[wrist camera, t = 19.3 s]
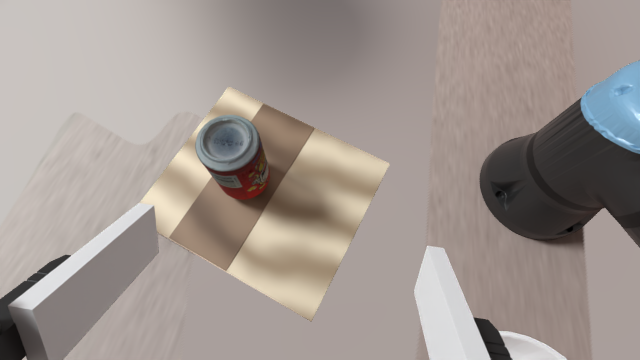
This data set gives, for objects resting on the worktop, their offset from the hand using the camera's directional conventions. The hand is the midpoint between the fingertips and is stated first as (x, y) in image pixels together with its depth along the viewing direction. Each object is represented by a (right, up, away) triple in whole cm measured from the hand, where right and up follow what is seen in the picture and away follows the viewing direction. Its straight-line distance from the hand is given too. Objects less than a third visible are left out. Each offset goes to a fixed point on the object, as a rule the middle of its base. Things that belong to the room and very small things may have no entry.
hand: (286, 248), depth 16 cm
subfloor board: (-6, +1, +32) cm, 33 cm away
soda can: (-9, +3, +31) cm, 32 cm away
